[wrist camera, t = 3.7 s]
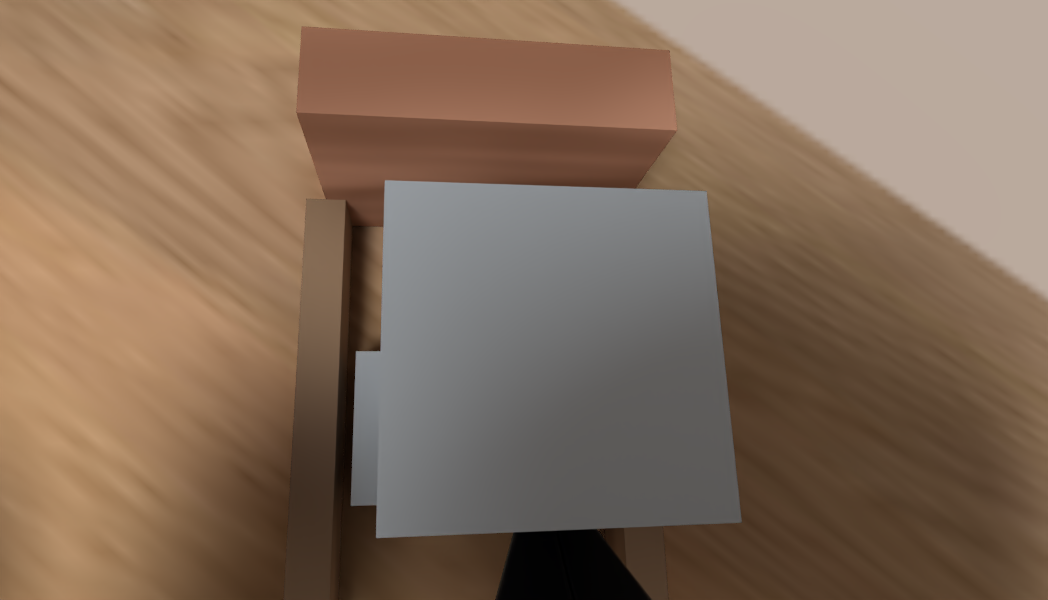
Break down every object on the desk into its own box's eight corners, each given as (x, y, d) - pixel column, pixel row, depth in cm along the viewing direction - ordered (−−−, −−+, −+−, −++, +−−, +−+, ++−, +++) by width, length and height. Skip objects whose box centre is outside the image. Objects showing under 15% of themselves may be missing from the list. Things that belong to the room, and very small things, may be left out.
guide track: (657, 776, 14) (784, 936, 9) (286, 813, 13) (203, 1017, 8) (615, 172, 17) (690, 51, 12) (320, 161, 16) (276, 24, 11)
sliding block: (592, 496, 15) (852, 518, 6) (355, 504, 14) (238, 543, 5) (585, 358, 15) (803, 194, 7) (360, 360, 15) (267, 177, 6)
